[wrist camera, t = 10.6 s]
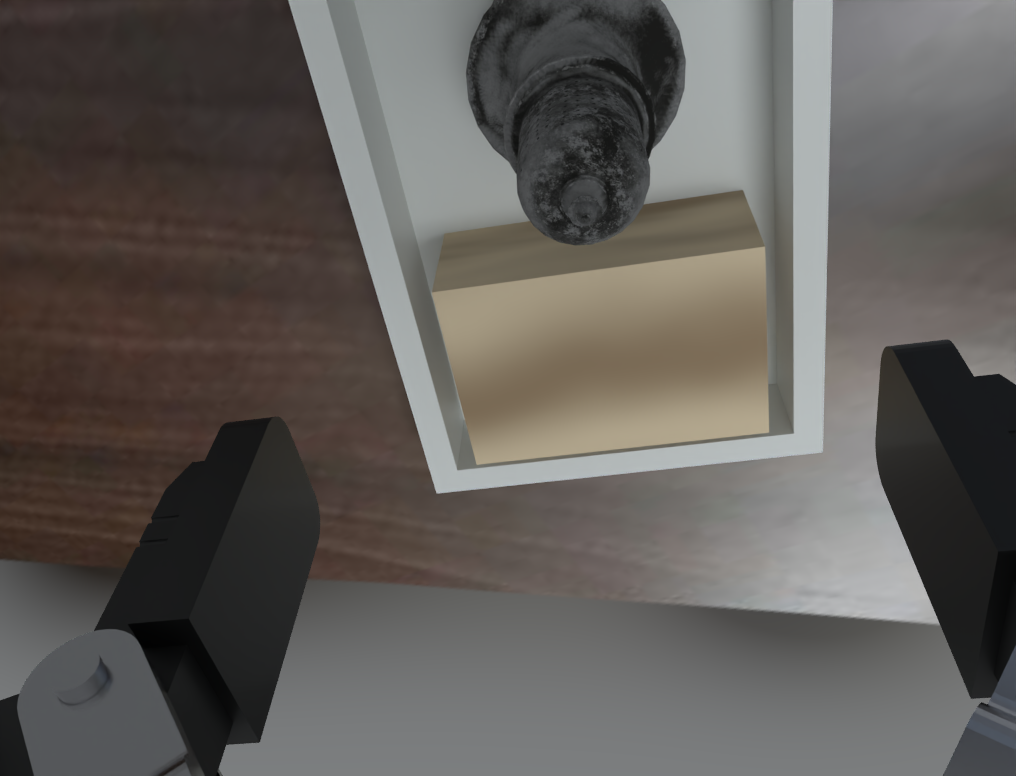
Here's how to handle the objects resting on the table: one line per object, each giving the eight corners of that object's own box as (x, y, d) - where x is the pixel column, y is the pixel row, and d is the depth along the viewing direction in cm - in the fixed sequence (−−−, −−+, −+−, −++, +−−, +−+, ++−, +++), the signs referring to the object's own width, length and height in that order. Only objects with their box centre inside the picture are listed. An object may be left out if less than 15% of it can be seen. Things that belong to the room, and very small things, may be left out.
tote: (296, -119, 26) (259, -96, 23) (800, -222, 24) (837, -213, 21) (447, 427, 38) (436, 493, 35) (798, 386, 36) (822, 452, 33)
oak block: (444, 233, 32) (431, 292, 28) (743, 190, 30) (765, 246, 27) (484, 396, 36) (476, 464, 32) (749, 365, 34) (769, 432, 31)
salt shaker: (437, 68, 28) (380, 254, 19) (549, -112, 25) (550, -2, 16) (592, 171, 30) (613, 391, 20) (713, 15, 27) (806, 185, 17)
